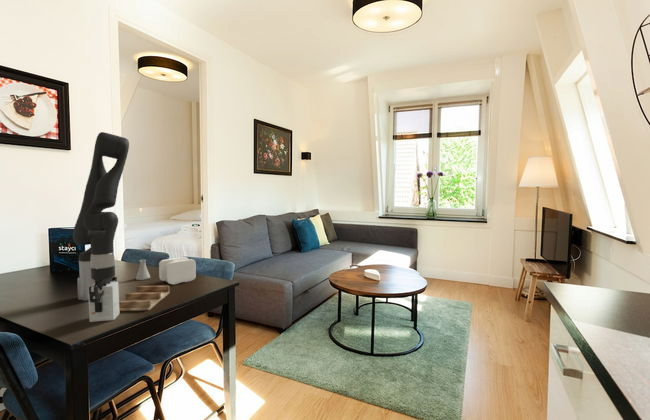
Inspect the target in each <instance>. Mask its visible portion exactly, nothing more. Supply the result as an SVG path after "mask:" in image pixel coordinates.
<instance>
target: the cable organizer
mask: <svg viewBox="0 0 650 420" xmlns="http://www.w3.org/2000/svg"><path fill="white" fill-rule="evenodd" d="M196 265H197V264H196V260H194V259H192V258H190V259H189V258H188V257H186V256H182V257H175V258H168V259H167V258H166V259H162V260H160V261H159V263H158V270H159V271H158V273H159V274H158V275H159V276H158V277H159V280H160V281H162V282H166V283H168V284H170V285H178V284H181V283H189V282H192V281H194V280H195V279H196V277H197V276H196V271H197V270H196V269H197V267H196Z"/></svg>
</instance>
